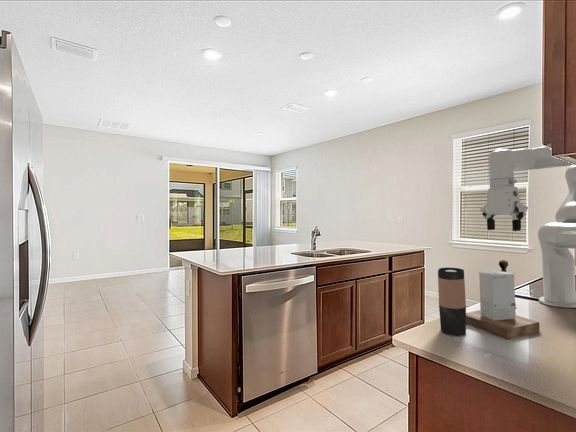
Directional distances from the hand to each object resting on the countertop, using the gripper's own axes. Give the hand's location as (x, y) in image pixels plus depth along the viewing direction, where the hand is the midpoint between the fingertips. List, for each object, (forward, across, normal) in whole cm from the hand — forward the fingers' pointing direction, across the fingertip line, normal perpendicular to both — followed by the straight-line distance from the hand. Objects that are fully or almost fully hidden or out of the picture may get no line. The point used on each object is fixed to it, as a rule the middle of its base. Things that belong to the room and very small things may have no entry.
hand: (503, 230), depth 117 cm
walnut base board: (+30, -9, +16) cm, 35 cm away
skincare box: (+28, -9, +16) cm, 33 cm away
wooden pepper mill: (+31, +5, -6) cm, 31 cm away
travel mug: (+31, -6, +32) cm, 45 cm away
